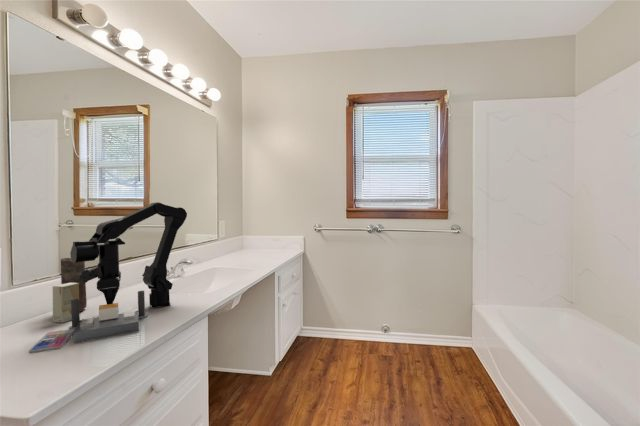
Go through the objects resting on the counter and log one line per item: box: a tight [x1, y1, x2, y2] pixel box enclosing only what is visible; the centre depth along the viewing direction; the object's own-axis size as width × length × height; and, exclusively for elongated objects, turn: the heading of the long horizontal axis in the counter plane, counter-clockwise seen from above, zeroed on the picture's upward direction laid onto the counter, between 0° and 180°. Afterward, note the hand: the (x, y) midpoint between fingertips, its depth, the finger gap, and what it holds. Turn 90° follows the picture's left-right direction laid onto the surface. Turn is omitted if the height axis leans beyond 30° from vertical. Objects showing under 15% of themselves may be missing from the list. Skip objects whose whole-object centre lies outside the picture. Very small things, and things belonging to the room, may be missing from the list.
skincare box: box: [52, 283, 79, 324], centre depth 110 cm, size 6×4×12 cm
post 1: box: [68, 299, 81, 330], centre depth 102 cm, size 4×4×9 cm
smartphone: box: [28, 328, 75, 354], centre depth 93 cm, size 7×1×15 cm
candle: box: [60, 257, 88, 312], centre depth 119 cm, size 8×7×20 cm
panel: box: [73, 310, 140, 344], centre depth 100 cm, size 16×12×4 cm
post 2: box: [137, 290, 149, 320], centre depth 112 cm, size 4×4×9 cm
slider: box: [98, 302, 119, 321], centre depth 102 cm, size 5×3×4 cm, turn 121°
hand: (110, 303), depth 111 cm, fingers open, 9 cm apart
